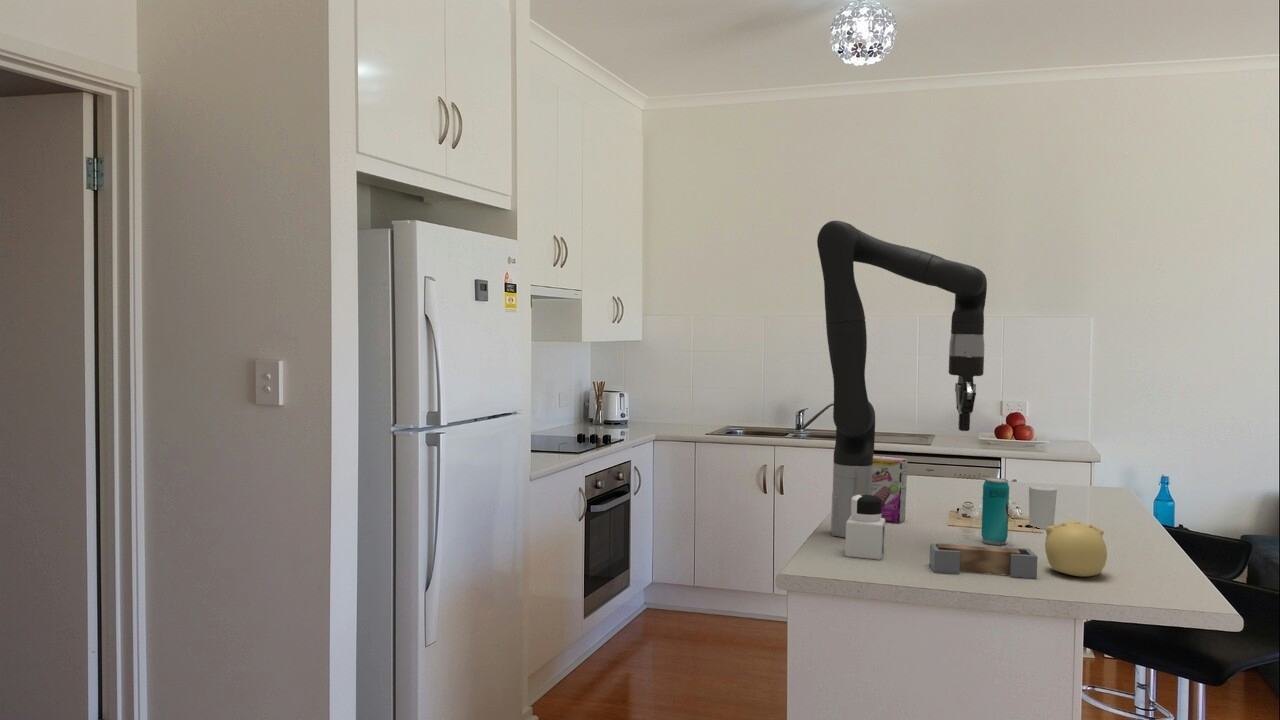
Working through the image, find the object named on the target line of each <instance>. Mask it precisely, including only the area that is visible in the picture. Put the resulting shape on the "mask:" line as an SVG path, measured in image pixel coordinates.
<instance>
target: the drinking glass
mask: <svg viewBox="0 0 1280 720" xmlns="http://www.w3.org/2000/svg"><path fill="white" fill-rule="evenodd" d="M1057 492H1058V489H1057V488H1055V487H1051V486H1046V485H1045V486H1044V485H1043V486H1042V485H1030V486H1029V487H1028V511H1029V512H1028V515H1029V516H1028V521H1029V523H1028V524H1029V525H1030V526H1033V527H1037V528H1040V529H1039V530H1046V527H1048V526H1053V525H1055V519H1056V518H1055V517H1056V504H1057V494H1058V493H1057ZM1030 526H1029V527H1030ZM1037 528H1036V529H1037Z"/></svg>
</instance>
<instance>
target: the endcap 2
mask: <svg viewBox="0 0 1280 720" xmlns="http://www.w3.org/2000/svg"><path fill="white" fill-rule="evenodd" d="M1003 548H1007V549H1018V550H1019V552H1020V554H1010V576H1009V577H1010V578H1017V577H1022V578H1021V579H1034V578H1037V579H1038V555H1036V553H1035V552H1033V551H1032V549H1030V548H1026V547H1025V548H1024V547H1023V548H1022V547H1003Z"/></svg>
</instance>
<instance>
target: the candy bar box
mask: <svg viewBox="0 0 1280 720" xmlns="http://www.w3.org/2000/svg"><path fill="white" fill-rule="evenodd" d="M872 465H873V470H872V495H873V496H877V497H879V498H880V499H881V500H882V513H881V517H880V518H884V519H885V523H890V524H891V523H892V524H901V523H903V522H905V521H906V505H907V504H906V503H907V502H906V501H907V483H908V482H907V477H908V475H907V474H908V459H907V458H902V457H901V458H900V457H899V458H898V457H889V456H881V455H873V464H872Z"/></svg>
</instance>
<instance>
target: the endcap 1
mask: <svg viewBox="0 0 1280 720" xmlns="http://www.w3.org/2000/svg"><path fill="white" fill-rule="evenodd" d="M937 544H938V543H937V542H936V543H933V542H930V543H929V566H930V569H931V570H932V571H933V573H937V574H951V575H952V574H956V575H960V572H959V568H960V551H951V550H939V549H938V547H937ZM951 545H955V544H953V543H952V544H951Z"/></svg>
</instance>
